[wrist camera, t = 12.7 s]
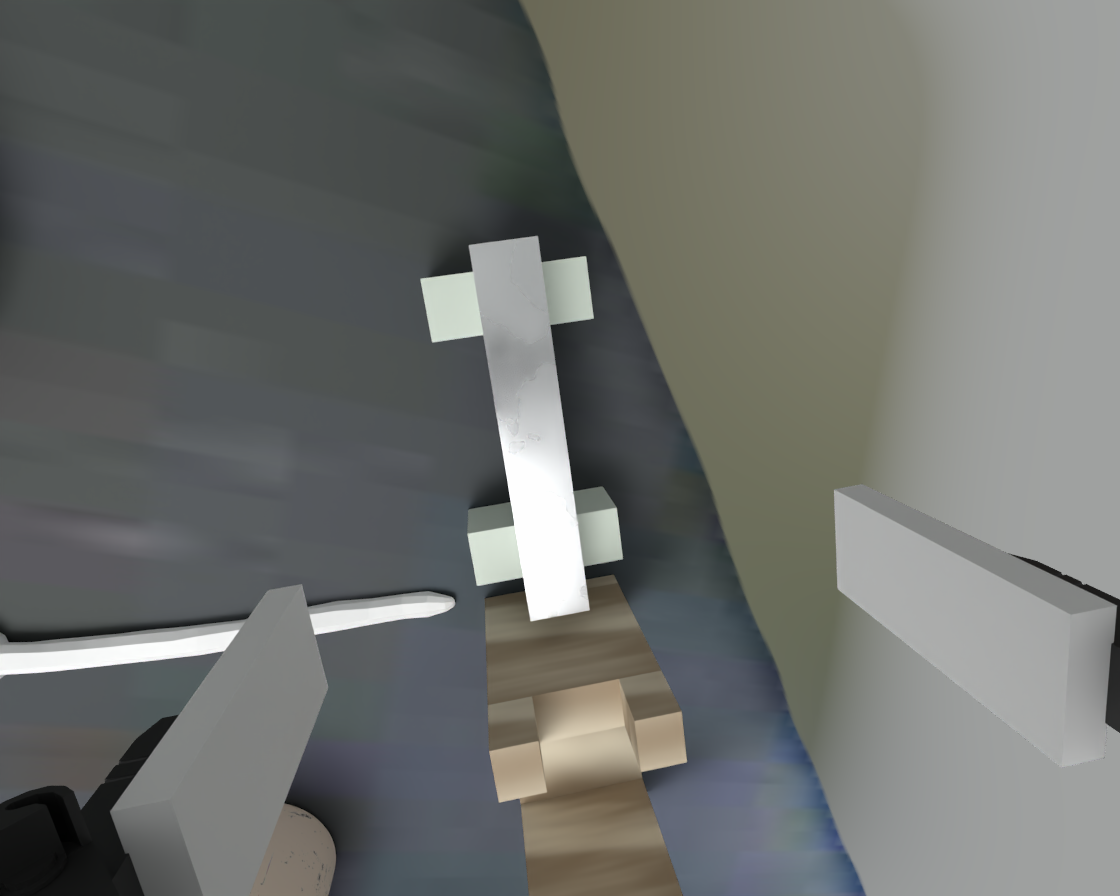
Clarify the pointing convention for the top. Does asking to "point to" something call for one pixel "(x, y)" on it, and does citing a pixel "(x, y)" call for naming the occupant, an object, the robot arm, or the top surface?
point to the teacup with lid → (297, 857)
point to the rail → (530, 423)
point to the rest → (494, 525)
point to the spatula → (202, 635)
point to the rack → (582, 743)
